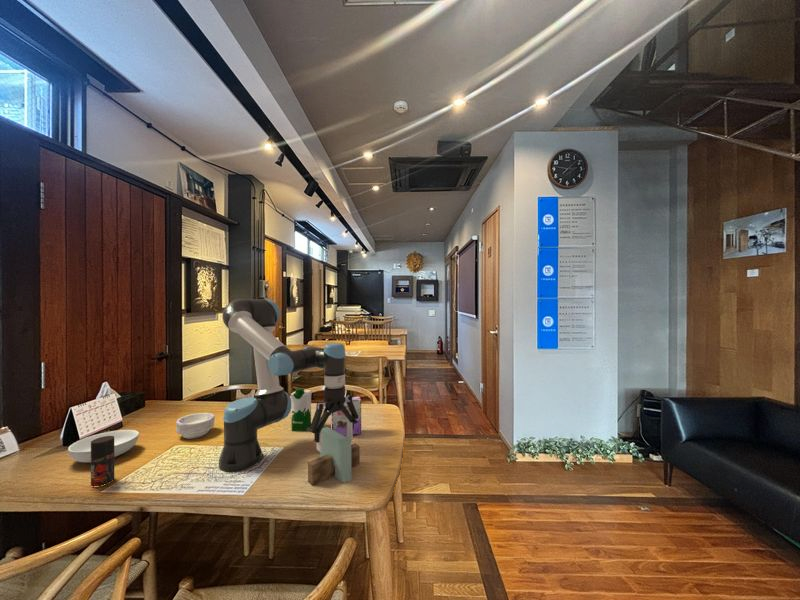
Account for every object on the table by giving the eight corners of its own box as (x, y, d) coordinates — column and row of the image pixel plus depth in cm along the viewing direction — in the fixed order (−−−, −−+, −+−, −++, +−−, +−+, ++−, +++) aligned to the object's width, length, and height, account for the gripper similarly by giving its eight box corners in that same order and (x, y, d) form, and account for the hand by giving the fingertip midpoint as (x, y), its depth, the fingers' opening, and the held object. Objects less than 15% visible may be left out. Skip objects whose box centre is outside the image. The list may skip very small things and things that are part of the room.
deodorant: (119, 477, 111) (119, 435, 111) (103, 487, 105) (103, 443, 105) (102, 477, 111) (101, 435, 111) (85, 487, 105) (85, 443, 105)
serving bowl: (147, 451, 130) (147, 435, 130) (78, 476, 112) (77, 457, 112) (127, 440, 141) (127, 425, 141) (60, 461, 122) (60, 443, 123)
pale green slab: (344, 483, 106) (344, 442, 106) (320, 465, 118) (320, 429, 118) (351, 479, 109) (351, 439, 109) (327, 462, 120) (327, 426, 120)
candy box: (331, 438, 142) (331, 402, 142) (331, 432, 147) (330, 398, 148) (361, 434, 145) (361, 399, 146) (359, 429, 151) (359, 395, 151)
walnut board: (312, 485, 105) (312, 465, 105) (308, 482, 107) (308, 461, 107) (359, 463, 119) (359, 445, 119) (355, 461, 121) (355, 443, 121)
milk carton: (289, 431, 149) (288, 390, 149) (297, 424, 158) (296, 385, 158) (306, 432, 148) (306, 390, 148) (313, 424, 157) (313, 385, 157)
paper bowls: (221, 431, 150) (221, 415, 150) (187, 444, 136) (187, 426, 136) (202, 425, 157) (202, 410, 157) (169, 437, 143) (169, 420, 143)
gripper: (309, 395, 102) (309, 460, 102) (367, 381, 119) (367, 437, 119) (298, 390, 107) (299, 452, 107) (355, 378, 125) (356, 431, 124)
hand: (335, 444), depth 113 cm, fingers open, 12 cm apart
